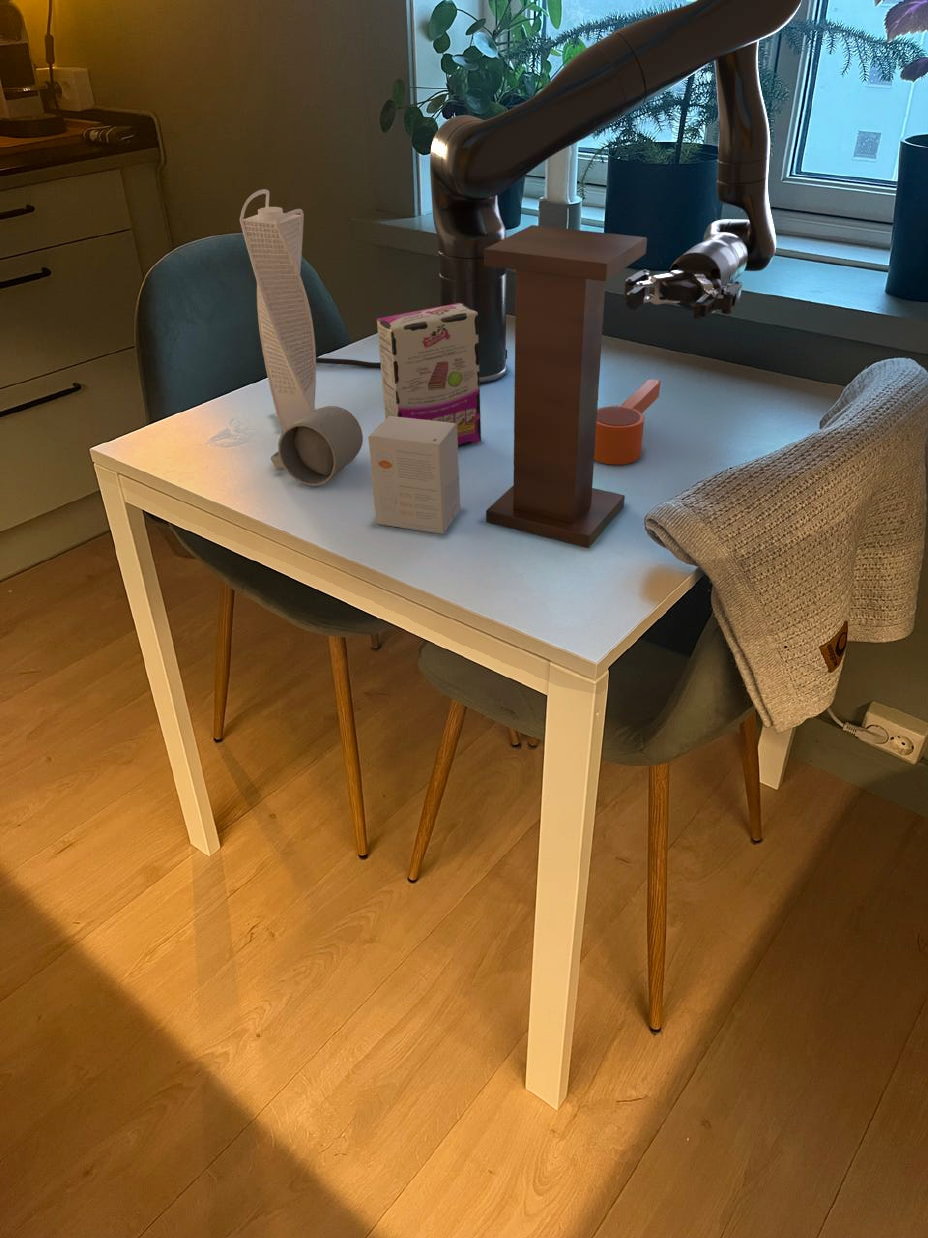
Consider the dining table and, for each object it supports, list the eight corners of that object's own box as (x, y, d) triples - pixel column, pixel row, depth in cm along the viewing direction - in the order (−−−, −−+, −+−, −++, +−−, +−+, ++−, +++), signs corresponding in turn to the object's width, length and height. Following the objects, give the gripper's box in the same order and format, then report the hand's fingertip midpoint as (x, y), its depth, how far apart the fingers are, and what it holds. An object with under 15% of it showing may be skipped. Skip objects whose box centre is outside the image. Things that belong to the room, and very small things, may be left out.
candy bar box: (463, 428, 124) (460, 300, 114) (482, 442, 120) (480, 311, 111) (384, 447, 120) (374, 316, 110) (401, 462, 116) (392, 328, 107)
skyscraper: (265, 413, 129) (232, 190, 113) (319, 405, 131) (294, 184, 115) (274, 436, 123) (240, 203, 107) (331, 428, 125) (306, 198, 109)
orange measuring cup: (628, 410, 127) (631, 375, 125) (674, 419, 125) (678, 383, 122) (579, 458, 116) (581, 420, 113) (629, 469, 113) (632, 430, 111)
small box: (461, 511, 106) (459, 422, 100) (444, 536, 101) (440, 444, 95) (394, 501, 108) (388, 413, 102) (374, 525, 104) (367, 434, 98)
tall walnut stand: (526, 484, 111) (531, 224, 94) (624, 506, 106) (647, 237, 89) (485, 522, 104) (483, 248, 87) (588, 548, 99) (606, 263, 82)
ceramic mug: (369, 461, 116) (363, 401, 112) (339, 491, 110) (331, 428, 106) (292, 451, 120) (284, 392, 115) (259, 479, 113) (248, 418, 109)
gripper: (656, 239, 131) (612, 269, 119) (760, 250, 125) (724, 283, 114) (651, 294, 135) (608, 328, 124) (752, 308, 129) (716, 345, 118)
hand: (663, 306), depth 119 cm, fingers open, 8 cm apart
